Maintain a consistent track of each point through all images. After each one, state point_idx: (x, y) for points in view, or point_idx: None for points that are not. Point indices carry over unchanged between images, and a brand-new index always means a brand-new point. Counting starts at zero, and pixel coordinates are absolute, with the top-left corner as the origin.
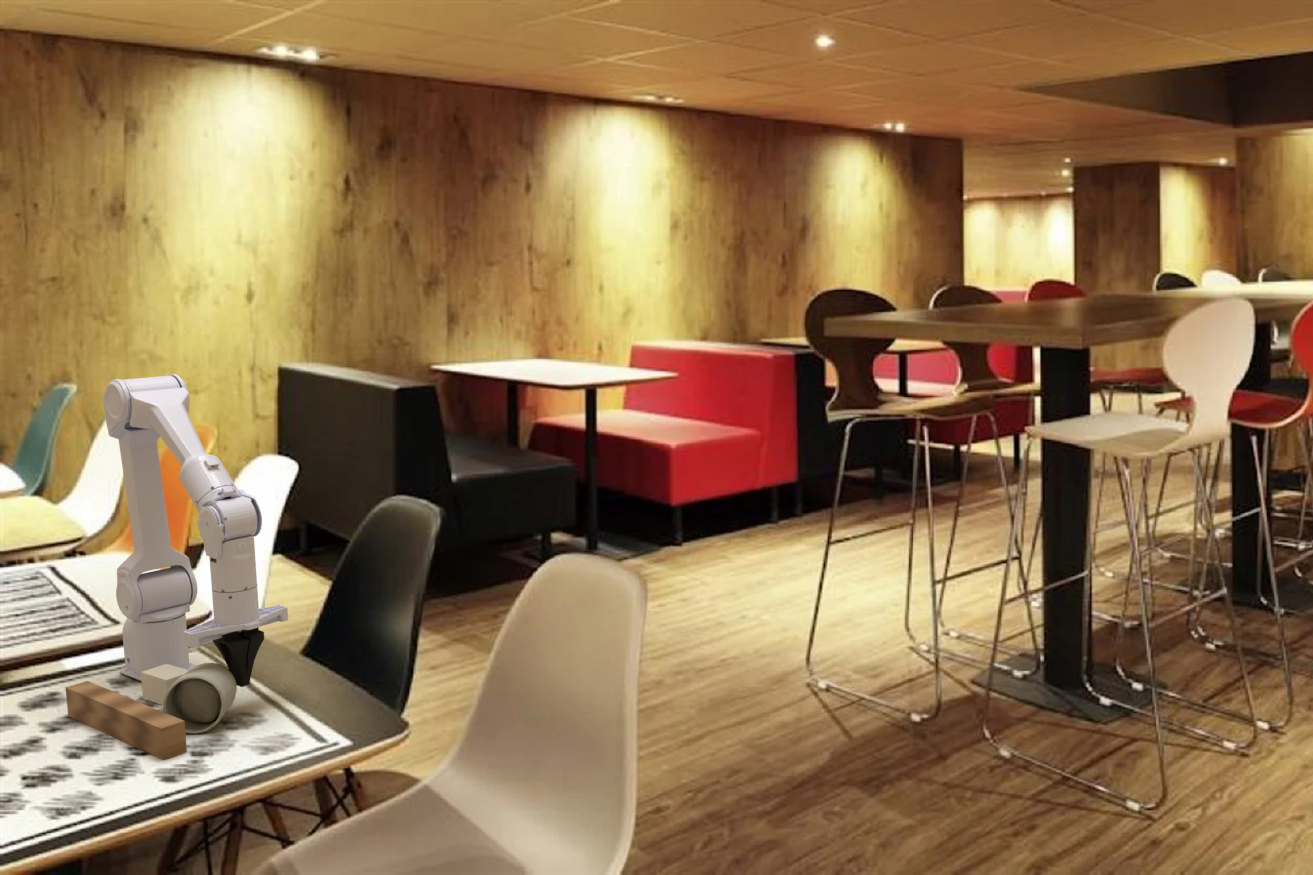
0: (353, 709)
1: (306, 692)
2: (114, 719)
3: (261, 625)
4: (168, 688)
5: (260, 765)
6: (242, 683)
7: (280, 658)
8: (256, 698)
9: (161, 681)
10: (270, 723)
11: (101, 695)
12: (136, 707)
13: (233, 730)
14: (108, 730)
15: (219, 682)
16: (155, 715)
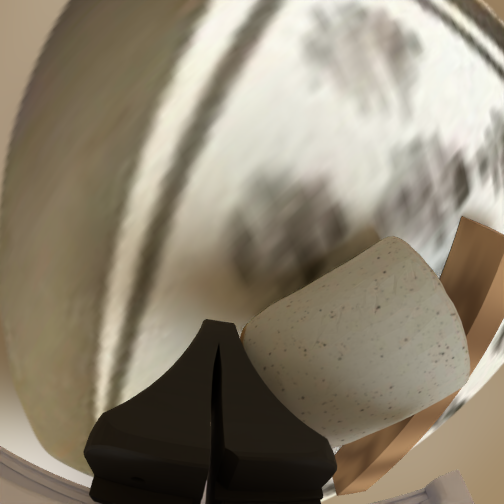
0: (93, 30)
1: (63, 234)
2: None
3: (65, 482)
4: None
5: (450, 26)
6: (234, 328)
7: (31, 392)
8: (155, 317)
9: None
10: (269, 147)
11: (391, 457)
12: None
13: (348, 208)
14: None
15: (411, 311)
16: (485, 323)
